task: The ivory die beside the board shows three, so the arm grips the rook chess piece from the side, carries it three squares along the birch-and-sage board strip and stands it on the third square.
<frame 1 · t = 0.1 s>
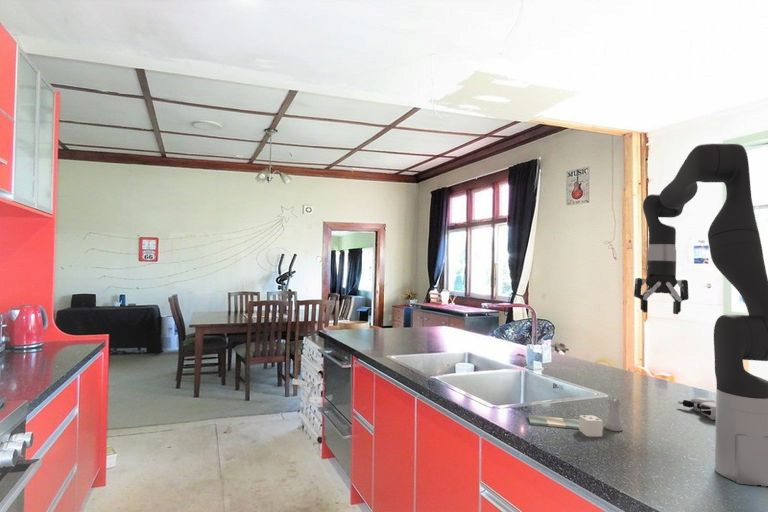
hand: (660, 313, 141), 29 cm above the worktop, tool pointing down, fingers open, 8 cm apart
die: (590, 433, 118), on the worktop
robot toy: (712, 416, 136), on the worktop
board: (563, 423, 125), on the worktop
rook chess piece: (613, 429, 122), on the worktop
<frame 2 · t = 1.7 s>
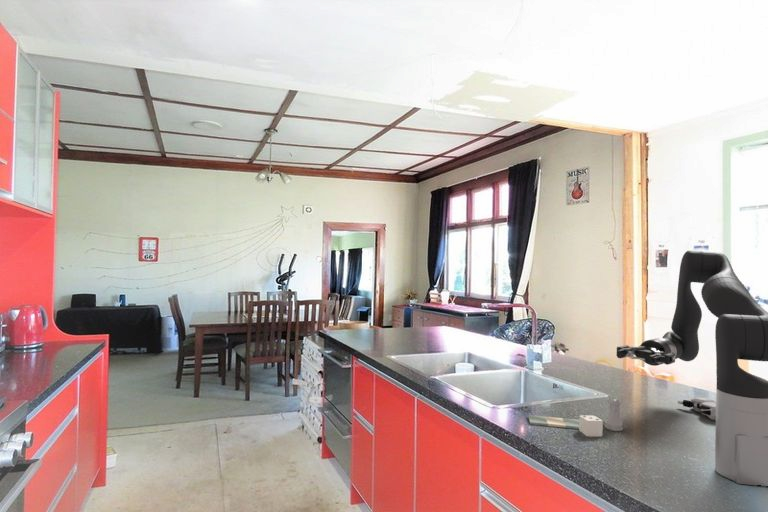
hand: (634, 357, 130), 18 cm above the worktop, tool horizontal, fingers open, 8 cm apart
nothing on the worktop moved.
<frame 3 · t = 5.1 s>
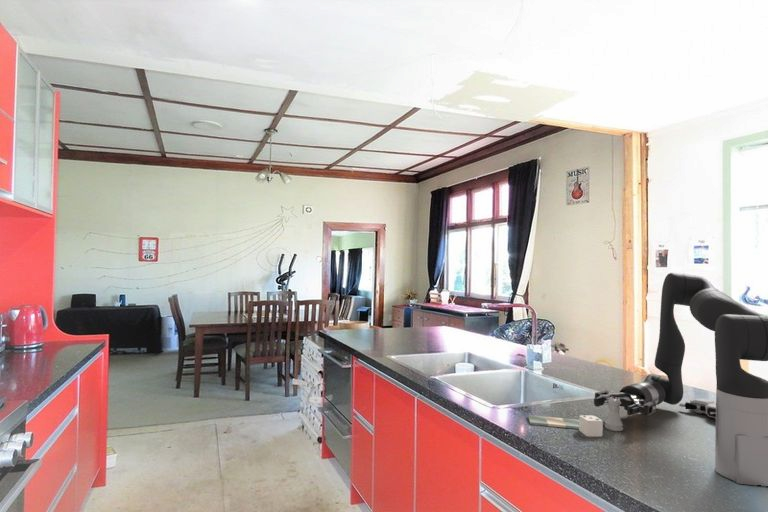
hand: (611, 406, 121), 6 cm above the worktop, tool horizontal, fingers open, 8 cm apart
robot toy: (714, 418, 135), on the worktop
everything else where it was.
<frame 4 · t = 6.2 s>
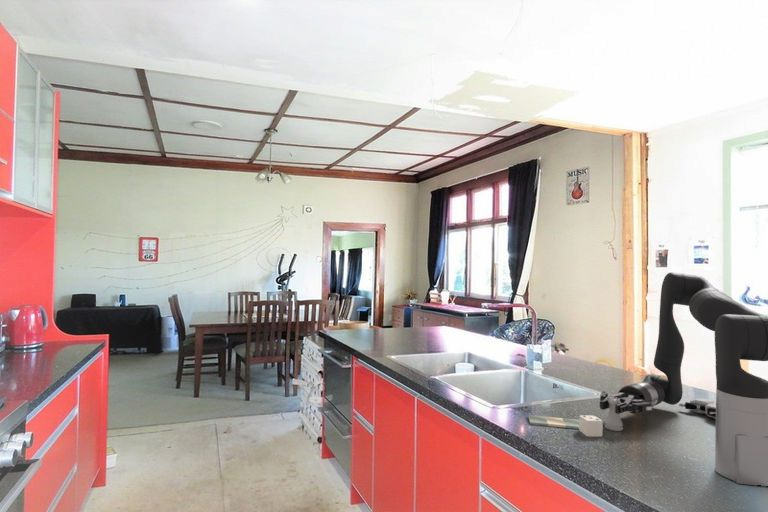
hand: (609, 407, 121), 6 cm above the worktop, tool horizontal, fingers closed on rook chess piece, 3 cm apart
rook chess piece: (613, 429, 122), on the worktop, touching gripper
everything else where it was.
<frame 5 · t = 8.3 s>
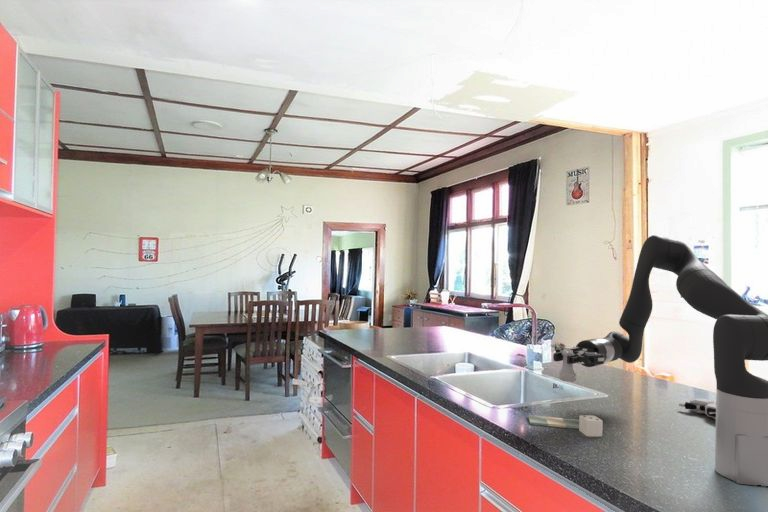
hand: (561, 358, 124), 18 cm above the worktop, tool horizontal, fingers closed on rook chess piece, 3 cm apart
rook chess piece: (567, 380, 125), point 12 cm above the worktop, touching gripper
everything else where it was.
when the fingers open (7 cm above the worktop, at t = 10.8 s): rook chess piece stays where it is, resting on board.
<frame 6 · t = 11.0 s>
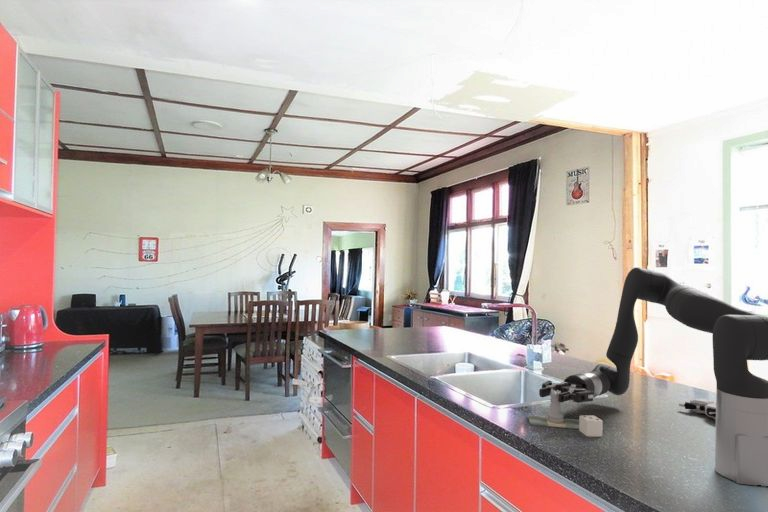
hand: (550, 395, 124), 8 cm above the worktop, tool horizontal, fingers open, 5 cm apart
rook chess piece: (555, 421, 125), resting on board
everything else where it was.
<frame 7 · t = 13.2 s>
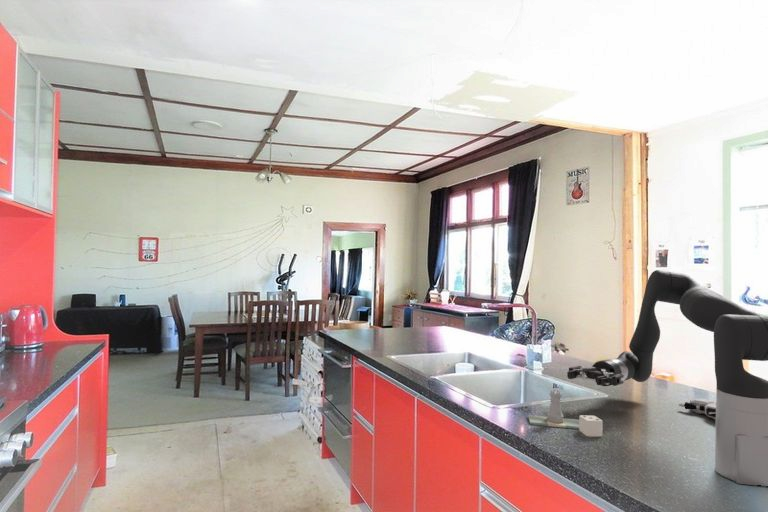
hand: (583, 378, 132), 11 cm above the worktop, tool horizontal, fingers open, 8 cm apart
nothing on the worktop moved.
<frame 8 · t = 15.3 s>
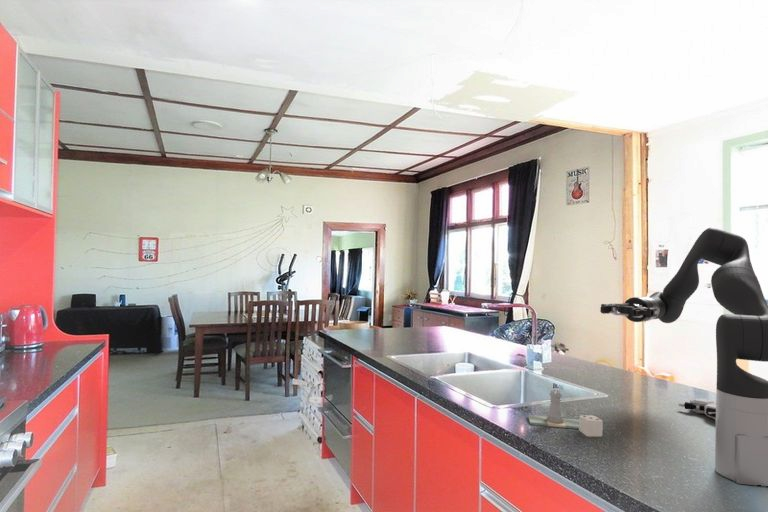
hand: (617, 311, 133), 30 cm above the worktop, tool horizontal, fingers open, 8 cm apart
nothing on the worktop moved.
at the end: rook chess piece 0.4 cm from the target spot, resting on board; rook chess piece tilted 0°; the gripper is holding nothing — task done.
